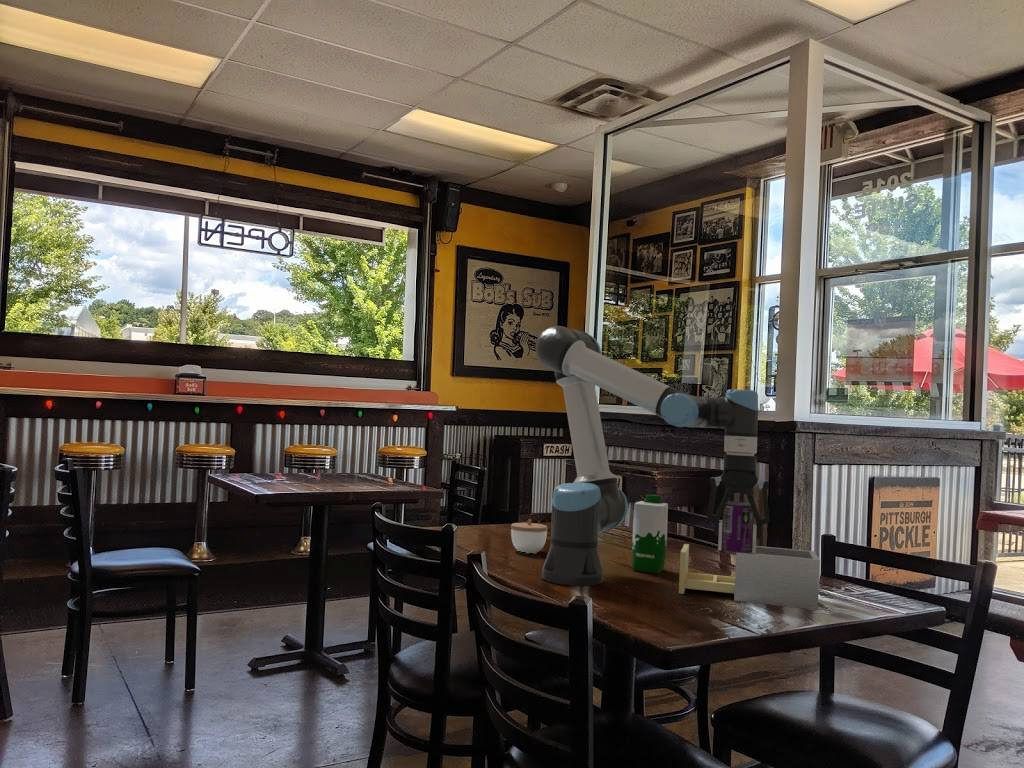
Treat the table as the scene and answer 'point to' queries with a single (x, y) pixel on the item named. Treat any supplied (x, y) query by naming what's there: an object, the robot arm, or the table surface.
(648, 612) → the table surface
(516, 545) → the lidded jar
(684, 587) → the rack
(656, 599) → the table surface
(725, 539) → the beverage can
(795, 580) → the grey open box
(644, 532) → the milk carton
